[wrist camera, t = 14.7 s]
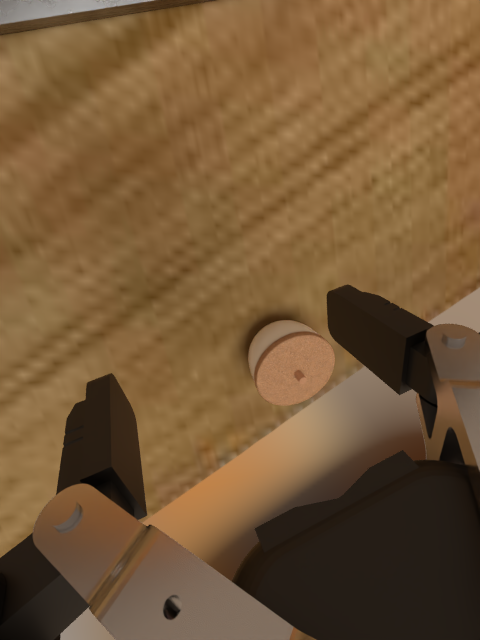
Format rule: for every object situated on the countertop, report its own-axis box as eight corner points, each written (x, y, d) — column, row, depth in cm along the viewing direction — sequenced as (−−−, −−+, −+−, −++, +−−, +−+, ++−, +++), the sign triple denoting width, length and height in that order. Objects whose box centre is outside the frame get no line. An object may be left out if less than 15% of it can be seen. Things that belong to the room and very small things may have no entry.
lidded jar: (262, 296, 42) (292, 330, 34) (320, 321, 46) (358, 356, 39) (225, 361, 45) (245, 406, 37) (283, 378, 50) (311, 421, 42)
